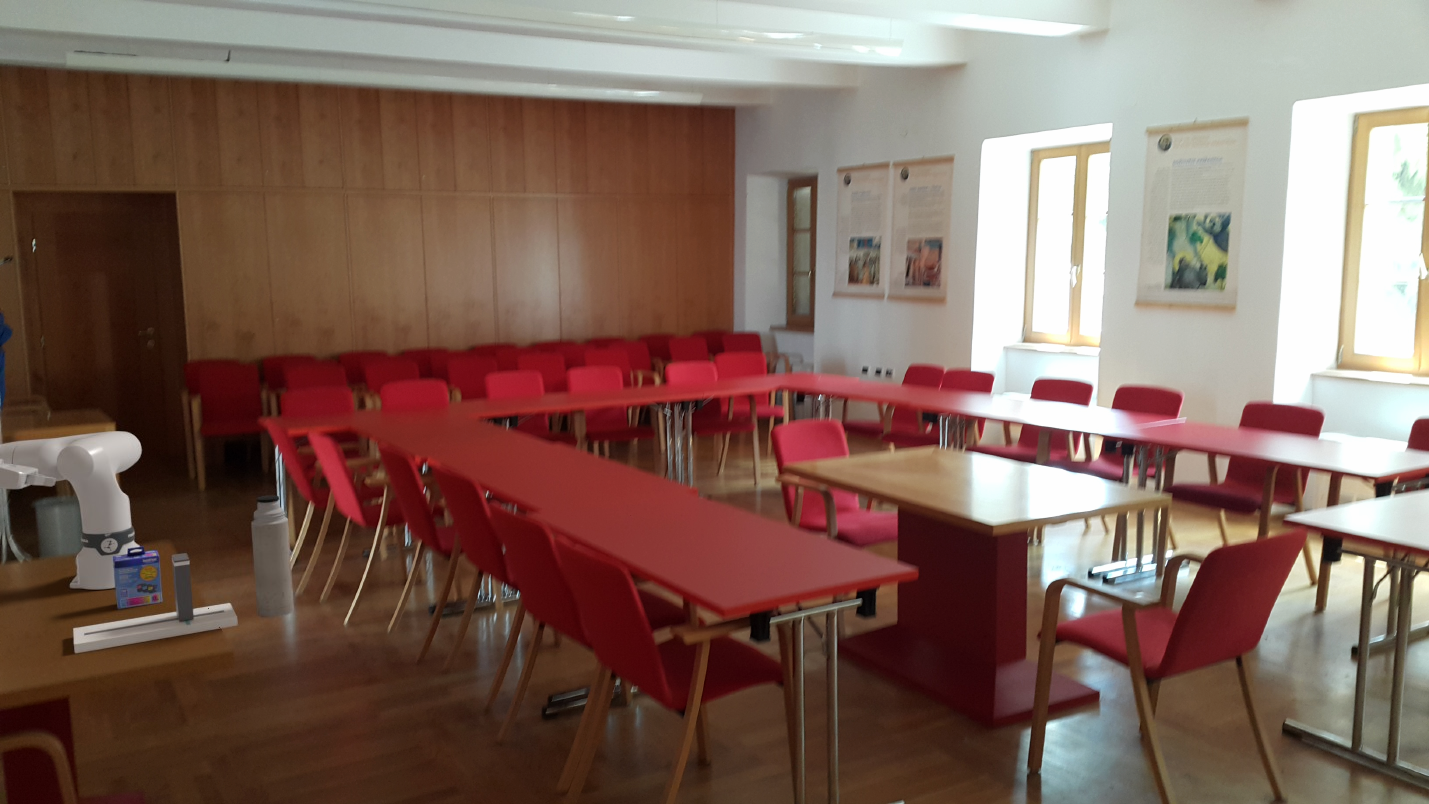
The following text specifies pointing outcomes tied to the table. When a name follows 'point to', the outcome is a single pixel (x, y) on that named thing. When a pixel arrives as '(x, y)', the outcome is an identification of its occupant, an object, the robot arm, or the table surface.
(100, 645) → the fader board
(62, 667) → the table surface
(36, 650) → the table surface
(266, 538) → the thermos bottle
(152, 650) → the table surface
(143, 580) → the ink cartridge box
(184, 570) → the fader knob
